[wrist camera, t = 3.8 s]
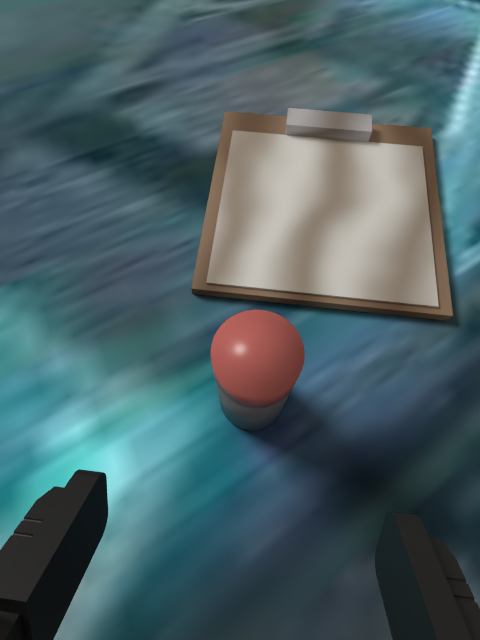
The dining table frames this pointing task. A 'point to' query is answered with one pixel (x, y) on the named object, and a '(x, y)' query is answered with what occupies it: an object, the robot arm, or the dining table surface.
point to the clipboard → (325, 215)
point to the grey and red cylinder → (255, 366)
